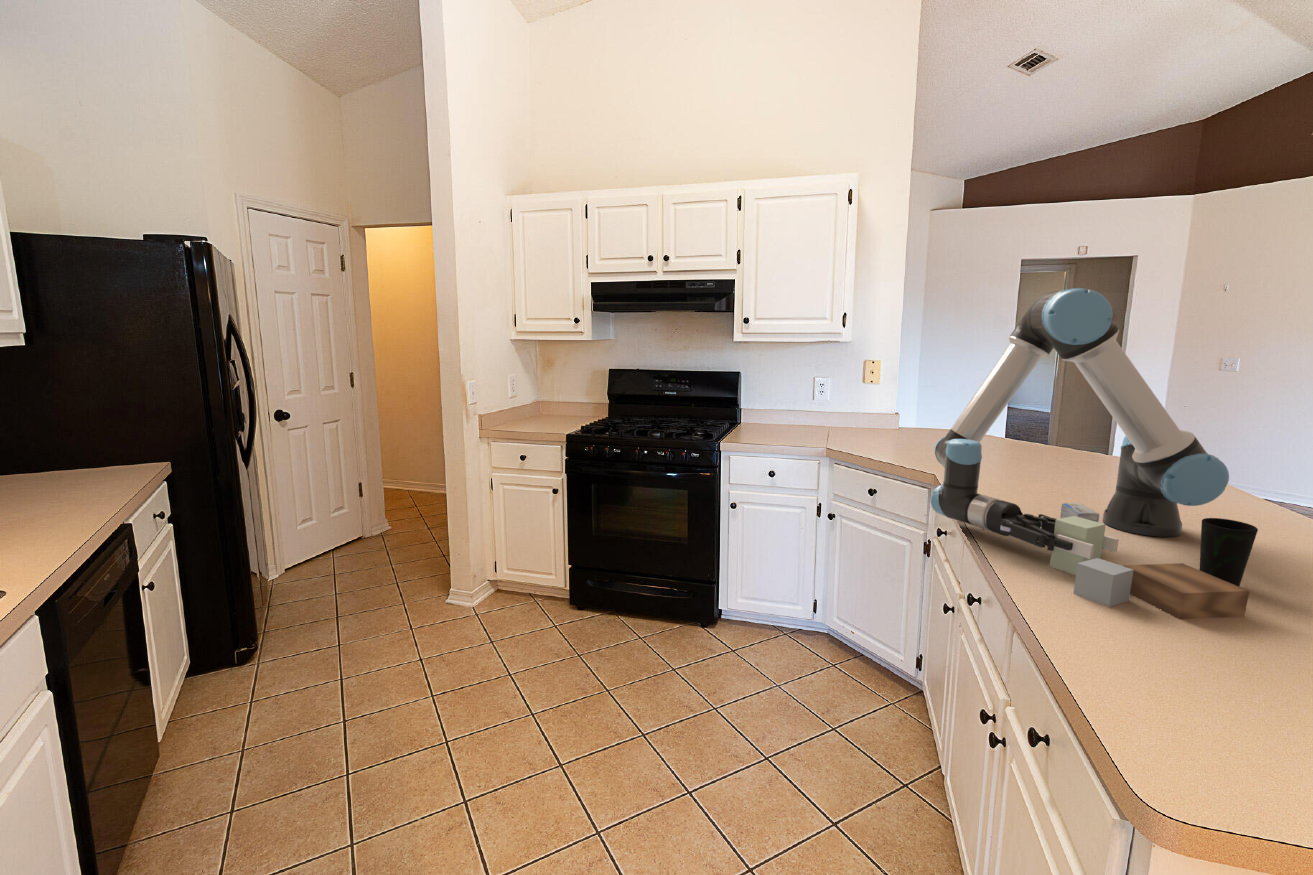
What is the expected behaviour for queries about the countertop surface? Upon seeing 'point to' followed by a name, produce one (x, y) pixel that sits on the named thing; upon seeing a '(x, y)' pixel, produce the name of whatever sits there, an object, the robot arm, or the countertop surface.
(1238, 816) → the countertop surface
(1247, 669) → the countertop surface
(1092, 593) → the grey block
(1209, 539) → the cup
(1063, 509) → the medicine box
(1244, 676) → the countertop surface
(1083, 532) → the sage block
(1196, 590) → the walnut block
